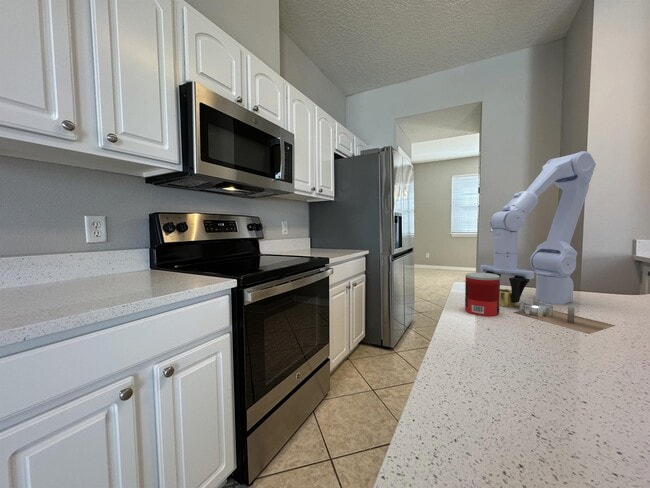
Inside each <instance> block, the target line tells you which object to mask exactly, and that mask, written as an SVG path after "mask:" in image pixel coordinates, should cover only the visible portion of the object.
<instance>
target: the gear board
mask: <svg viewBox="0 0 650 488" xmlns="http://www.w3.org/2000/svg"><path fill="white" fill-rule="evenodd" d="M532 301H533V305H536V306H539V303H540V301H539V300H536V298H534V299H532ZM575 309H576V307H573V306H572V307H571V306H568V307H567V313H565V312H561V311H558V310H554V309H553V315H552V317H546V316H544V317H543V318H541V317H537V316H533V315H530V316H528V315H525V313H520V312H519V310H517V311H514V312H513V311H512V313H513V314H517V315H521V316H524V317H527V318H531V319H534V320H539V321H541V322H545V323H548V324H552V325H555V326H559V327H563V328H566V329H571V330H574V331H578V332H581V333H583V334H584V333H585V334H589V335H591V334H594V333H597V332H600V331H602V330H606V329H610V328H613V327H615V326H616V325H615V324H611V323H608V322H603V321H599V320H596V319H591V318H587V317H583V316H578V315H575V314H576V313H575V312H576V311H575Z"/></svg>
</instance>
